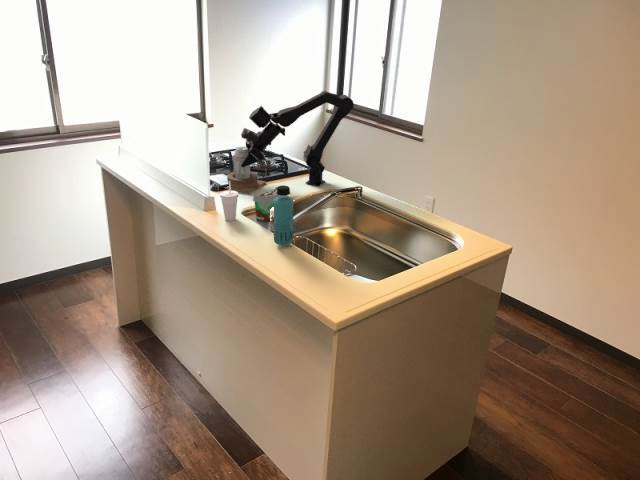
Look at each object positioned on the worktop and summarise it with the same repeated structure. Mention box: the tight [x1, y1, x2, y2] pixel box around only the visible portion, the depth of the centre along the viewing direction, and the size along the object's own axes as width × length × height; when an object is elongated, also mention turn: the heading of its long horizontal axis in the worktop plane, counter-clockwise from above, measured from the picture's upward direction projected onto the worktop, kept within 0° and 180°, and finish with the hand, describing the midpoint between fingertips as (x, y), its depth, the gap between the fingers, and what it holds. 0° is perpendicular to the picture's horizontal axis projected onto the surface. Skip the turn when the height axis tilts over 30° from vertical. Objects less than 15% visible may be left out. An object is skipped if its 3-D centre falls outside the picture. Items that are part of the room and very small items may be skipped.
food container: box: [252, 186, 280, 223], centre depth 188 cm, size 12×6×10 cm, turn 143°
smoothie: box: [219, 181, 239, 222], centre depth 186 cm, size 6×6×14 cm
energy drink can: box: [233, 146, 251, 179], centre depth 216 cm, size 6×6×15 cm
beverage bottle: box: [273, 185, 295, 246], centre depth 167 cm, size 6×7×20 cm
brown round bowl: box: [224, 171, 267, 195], centre depth 219 cm, size 14×14×4 cm
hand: (240, 163), depth 215 cm, fingers open, 9 cm apart
